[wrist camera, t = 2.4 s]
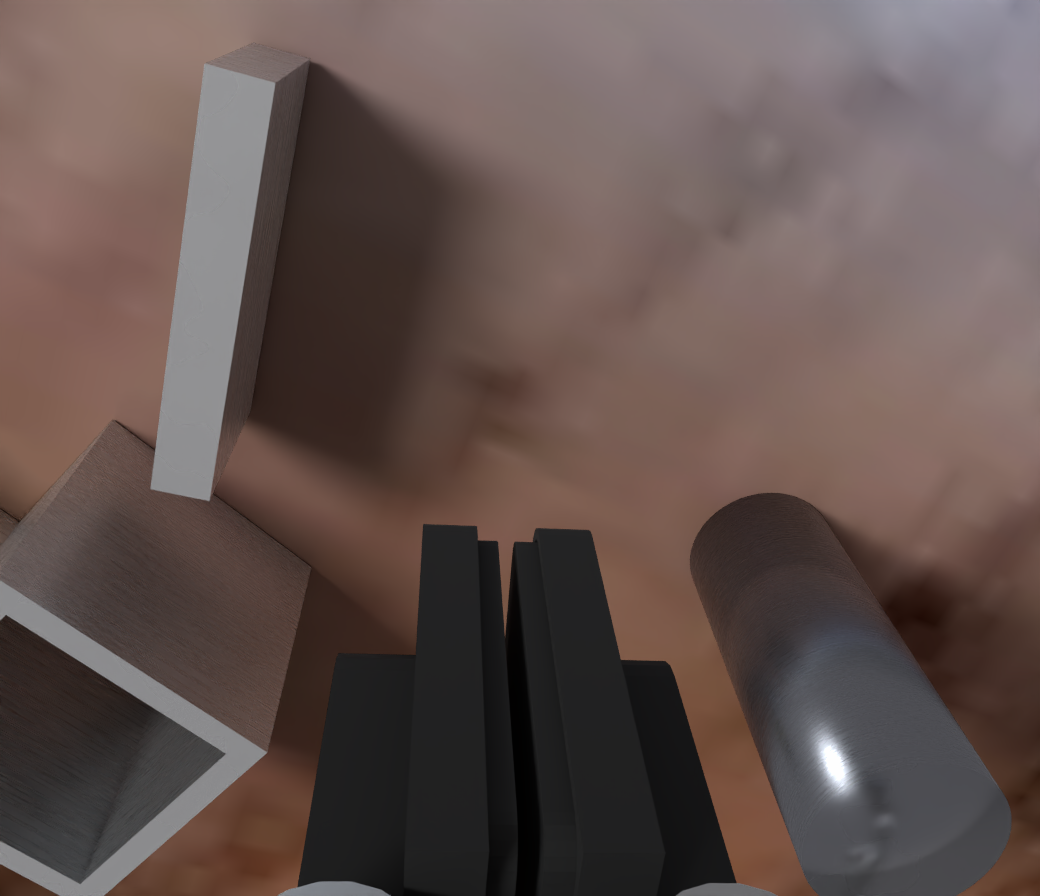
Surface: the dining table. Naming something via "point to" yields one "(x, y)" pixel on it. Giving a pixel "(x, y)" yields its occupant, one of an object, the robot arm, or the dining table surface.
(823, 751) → the pin
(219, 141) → the leaf loose
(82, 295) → the dining table surface
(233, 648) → the hinge base
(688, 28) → the dining table surface
